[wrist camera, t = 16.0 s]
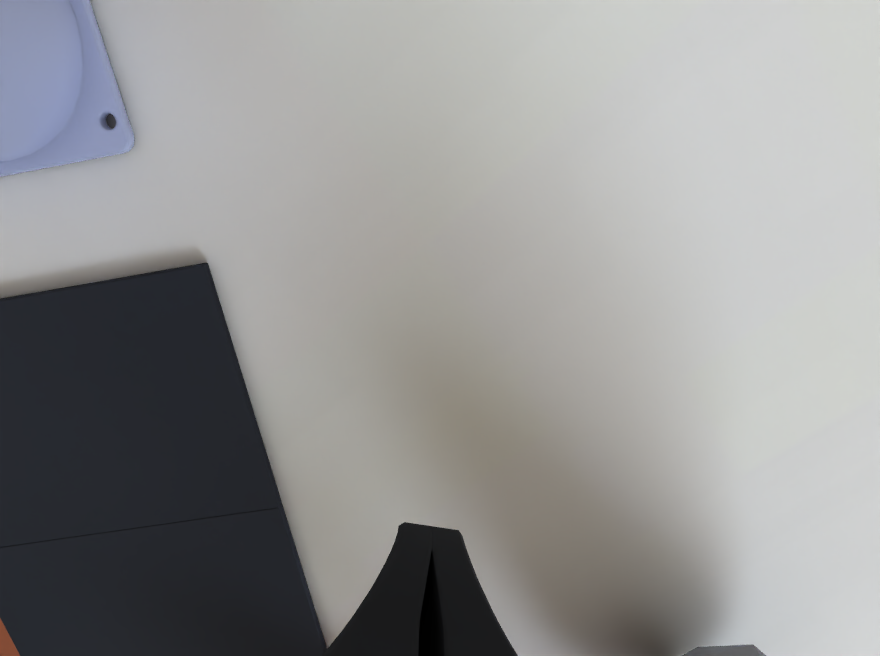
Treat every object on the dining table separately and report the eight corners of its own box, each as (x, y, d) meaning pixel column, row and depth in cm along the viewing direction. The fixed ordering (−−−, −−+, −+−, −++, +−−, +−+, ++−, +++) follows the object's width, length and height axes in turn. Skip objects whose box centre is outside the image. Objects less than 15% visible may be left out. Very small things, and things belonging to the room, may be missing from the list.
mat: (-397, 368, 22) (-412, 372, 22) (208, 262, 21) (203, 264, 20) (-141, 741, 29) (-148, 749, 28) (338, 684, 27) (336, 692, 27)
